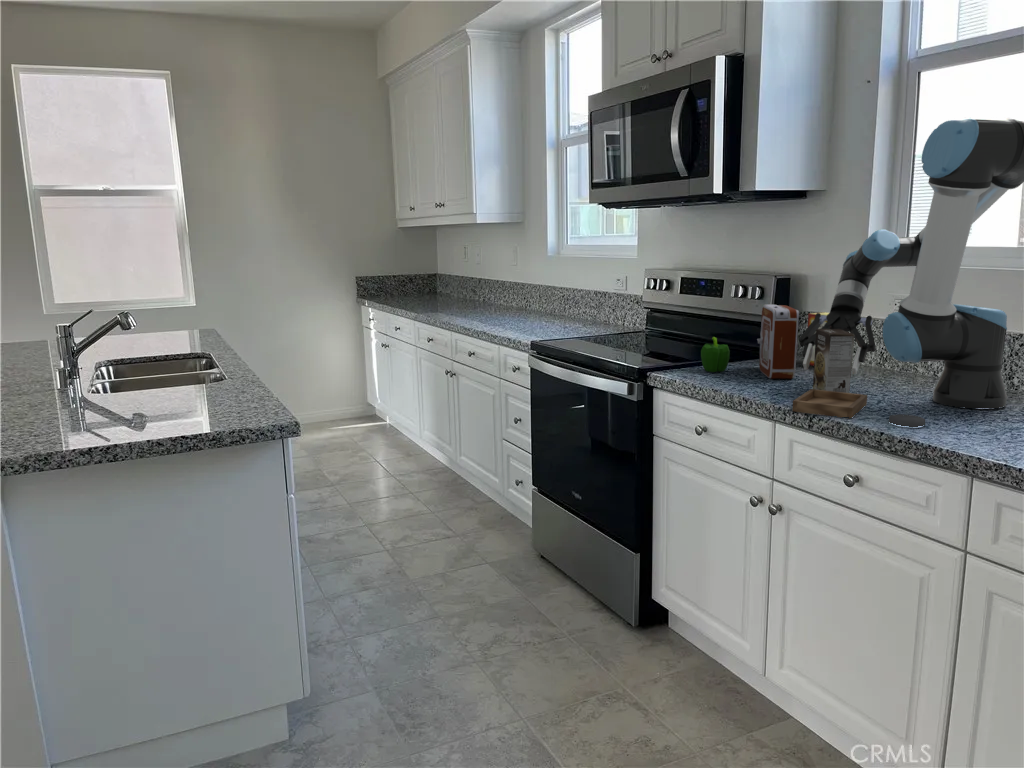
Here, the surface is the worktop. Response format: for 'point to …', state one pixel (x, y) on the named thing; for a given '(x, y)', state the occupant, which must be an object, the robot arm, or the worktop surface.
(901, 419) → the lens cap
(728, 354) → the bell pepper
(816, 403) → the tray
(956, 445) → the worktop surface
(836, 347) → the coffee box
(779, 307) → the vintage travel case
